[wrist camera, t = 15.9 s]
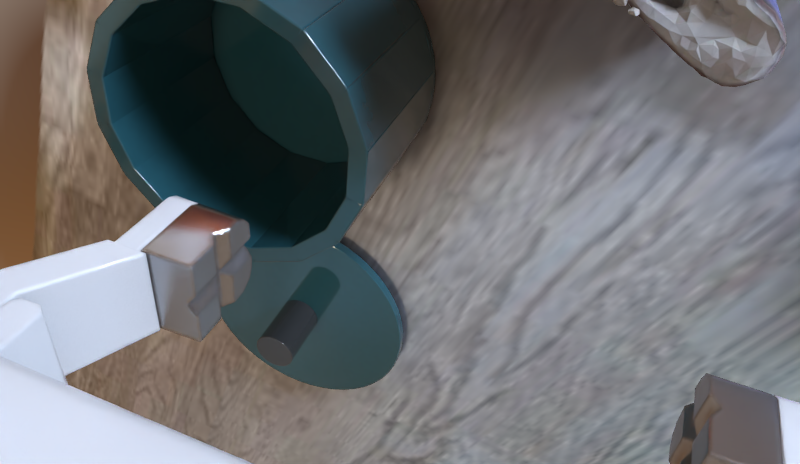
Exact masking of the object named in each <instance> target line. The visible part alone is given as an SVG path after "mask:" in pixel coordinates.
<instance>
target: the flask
mask: <svg viewBox="0 0 800 464" xmlns="http://www.w3.org/2000/svg"><path fill="white" fill-rule="evenodd" d="M613 2H614V3H615V4H616V5H619V6H626V4H627V3H628V4H629V5H630V6H631V8H630V9H629V10H628V13H629V14H631V15H633V16H639V17H640V18H641V19H643V20H644V21H645V22H646V23H647V24H648V25H649V26H650V28H651V29H652V30H653V31H654V32H655V33H656V34H657V35H658V36H659V37H660V38H661V39H662V40H663V41H664V42H665V43H666V44H667V45H668V46H669V47H670V48H671V49H672V50H673V51H674V52H675V53H676V54H677V55H678V56H679V57H681V58H682V59H683V60H684V61H685V62H686V63H687V64H688V65H690V66H691V67H693V68H694V69H695V70H696V71H697V72H698V73H699V74H700V75H701V76H703V77H706V78H708V79H710V80H712V81H713V82H715V83H717V84H719V85H721V86H729V87H737V86H741V85H746V84H749V83H752V82H754V81H757V80H760V79H762V78H764V77H765V76H767V75H768V74H769V73H770V72H771V71H772V70H773V68H774V67H775V66H776V65H777V63H778V62H779V60H780V59H781V58H782V56H783V54H784V50H785V47H786V45H787V40H786V32H785V29H784V25H783V21H782V18H781V16H780V12H779V8H778V5H777V2H776V0H613Z"/></svg>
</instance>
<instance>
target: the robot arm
mask: <svg viewBox="0 0 800 464" xmlns="http://www.w3.org/2000/svg"><path fill="white" fill-rule="evenodd" d="M249 239H250V228H249V223H248V222H247V221H245V220H244V219H242V218H239V217H236V216H233V215H230V214H228V213H225V212H222V211H219V210H217V209H214V208H211V207H208V206H206V205H203V204H200V203H195V202H193V201H190V200H187V199H185V198H182V197H179V196H177V195H176V196H172V197H168V198H167V199H165V200H164V201H163V202H162V203H161V204H159V205H158V206H157V207H156V208H155V209H153V210H152V211H151V212H150V213H149V214H147V215H146V216H145V217H144V218H143V219H141V220H140V221H139V222H138V223H137V224H135V225H134V226H133V227H132V228H131V229H129V230H128V231H127V232H126V233H125V234H123V235H122V236H121V237H120V238H119V239H117V240H116V241H115V242H113V241H110V240H105V241H101V242H97V243H94V244H90V245H87V246H83V247H79V248H76V249H72V250H69V251H65V252H61V253H58V254H54V255H51V256H47V257H43V258H40V259H36V260H33V261H29V262H25V263H22V264H18V265H15V266H11V267H7V268H4V269H0V464H253V463H251V462H248V461H246V460H244V459H241V458H239V457H236V456H234V455H232V454H229V453H227V452H225V451H222V450H220V449H218V448H215V447H213V446H211V445H208V444H206V443H204V442H201V441H199V440H197V439H194V438H192V437H189V436H187V435H185V434H182V433H180V432H178V431H175V430H173V429H171V428H168V427H166V426H164V425H161V424H159V423H157V422H154V421H152V420H150V419H147V418H145V417H142V416H140V415H138V414H135V413H133V412H131V411H128V410H126V409H124V408H121V407H119V406H117V405H114V404H112V403H110V402H107V401H105V400H103V399H100V398H98V397H95V396H93V395H91V394H88V393H86V392H84V391H81V390H79V389H77V388H74V387H72V386H70V385H68V383H67V381H66V378H65V376H66V375H68V374H70V373H72V372H74V371H76V370H79V369H81V368H83V367H85V366H87V365H89V364H91V363H93V362H95V361H97V360H99V359H101V358H103V357H106V356H108V355H110V354H112V353H114V352H116V351H118V350H120V349H122V348H124V347H126V346H128V345H130V344H133V343H135V342H137V341H139V340H141V339H143V338H145V337H147V336H149V335H151V334H153V333H155V332H158V331H160V328H162V329H165V330H168V331H171V332H174V333H176V334H179V335H182V336H185V337H188V338H191V339H193V340H196V341H199V342H201V341H202V340H203V339H204V338H205V336H206V335H207V334H208V333H209V332H210V331H211V329H212V328H213V327H214V326H215V325H216V324H217V323H218V321H219V320H220V319H221V307H223V306H226V305H229V304H231V303H234V302H235V301H236V300H237V299H238V298H239V297H240V295H241V294H242V293H243V292H244V289H245V287H246V285H247V283H248V281H249V279H250V274H251V269H252V256H251V254H250V253H249V251H248V250H247V248H246V247H245V245H244V244H245V243H246V242H247V241H248V240H249ZM669 462H670V464H800V403H798V402H795V401H792V400H789V399H786V398H783V397H780V396H776V395H772V394H769V393H766V392H763V391H760V390H757V389H754V388H751V387H748V386H745V385H742V384H738V383H735V382H732V381H729V380H726V379H723V378H720V377H717V376H714V375H711V374H708V373H706V374H705V375H704V376H703V377H702V378H701V380H700V381H699V383H698V385H697V386H696V388H695V400H694V403H692V404H689V405H686V406H685V407H684V409H683V411H682V412H681V414H680V416H679V418H678V420H677V423H676V426H675V429H674V432H673V435H672V439H671V445H670V452H669Z"/></svg>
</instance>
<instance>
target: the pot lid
mask: <svg viewBox="0 0 800 464" xmlns="http://www.w3.org/2000/svg"><path fill="white" fill-rule="evenodd" d="M221 317H222V318H223V320H224V322H225V323H226V324H227V326H228V327H229V329H230V330H231V331H232V333H233V334H234V335H235V336H236V337H237V338H238V340H239V341H240V342H241V343H242V344H243V345H244V346H245V347H246V348H247V349H249V350H250V351H251V352H252V353H253V354H254V355H256V356H257V357H258V358H259V359H261V360H262V361H264V362H265V363H266V364H268V365H269V366H271V367H273V368H274V369H276V370H277V371H279V372H281V373H283V374H285V375H287V376H289V377H291V378H294V379H296V380H298V381H301V382H304V383H307V384H310V385H313V386H318V387H322V388H328V389H340V390H347V389H356V388H361V387H365V386H368V385H371V384H373V383H375V382H377V381H378V380H380V379H382V378H383V377H384V376H385V375H386V374H388V373H389V371H390V370H391V369H392V367H393V366H394V364H395V362H396V360H397V358H398V356H399V354H400V352H401V348H402V344H403V326H402V320H401V316H400V313H399V310H398V307H397V305H396V302H395V300H394V298H393V296H392V295H391V293H390V291H389V289H388V288H387V286H386V285H385V284H384V282H383V281H382V279H381V278H380V277H379V276H378V274H377V273H376V272H375V271H374V270H373V269H372V268H371V267H370V266H369V265H368V264H367V263H366V262H365V261H364V260H363V259H362V258H361V257H360V256H358V255H357V254H356V253H354V252H353V251H352V250H351V249H349V248H348V247H347V246H345V245H343V244H342V243H340V242H339V243H338V244H336V245H334V246H332V247H330V248H328V249H326V250H324V251H321V252H319V253H317V254H315V255H313V256H311V257H309V258H307V259H305V260H303V261H299V262H252V269H251V274H250V279H249V281H248V283H247V285H246V287H245V289H244V292H243V293H242V294H241V295H240V297H239V298H238V299H237V300H236V301H235V302H234V303H231V304H229V305H226V306H223V307H221Z"/></svg>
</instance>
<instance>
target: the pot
mask: <svg viewBox="0 0 800 464" xmlns="http://www.w3.org/2000/svg"><path fill="white" fill-rule="evenodd" d="M87 74H88V79H89V84H90V89H91V94H92V99H93V104H94V109H95V114H96V119H97V122H98V125H99V127H100V129H101V131H102V133H103V135H104V137H105V138H106V140H107V142H108V144H109V146H110V148H111V150H112V152H113V153H114V155H115V157H116V159H117V161H118V163H119V165H120V167H121V169H122V170H123V172H124V174H125V175H126V176H127V177H128V178H129V179H130V181H131V182H132V183H133V184H134V185H135V186H136V187H137V188H138V189H139V190H140V192H141V193H142V194H143V195H144V196H145V197H146V198H147V199H148V200H149V202H150V203H151V204H152V205H153V206H154V207H155V208H156V207H157V206H158V205H159V204H161V203H162V202H163V201H164V200H165V199H167V198H168V197H172V196H176V195H177V196H179V197H182V198H185V199H187V200H190V201H193V202H195V203H200V204H203V205H206V206H208V207H211V208H214V209H217V210H219V211H222V212H225V213H228V214H230V215H233V216H236V217H239V218H242V219H244V220H245V221H247V222H248V223H249V228H250V239H249V240H248V241H247V242H246V243H245V244H244V245H245V247H246V248H247V250H248V251H249V253H250V254H251V256H252V262H299V261H303V260H305V259H307V258H309V257H311V256H313V255H315V254H317V253H319V252H321V251H324V250H326V249H328V248H330V247H332V246H334V245H336V244H338V243H339V242H340V241H341V240H342V238H343V237H344V236H345V234H346V233H347V231H348V230H349V229H350V227H351V226H352V225H353V223H354V222H355V220H356V219H357V218H358V216H359V215H360V214H361V212H362V211H363V209H364V208H365V207H366V205H367V204H368V203H369V201H370V200H371V198H372V197H373V196H374V194H375V193H376V192H377V190H378V189H379V187H380V186H381V185H382V183H383V182H384V181H385V179H386V178H387V177H388V175H389V174H390V172H391V171H392V170H393V168H394V167H395V166H396V164H397V163H398V161H399V160H400V159H401V157H402V156H403V155H404V153H405V152H406V150H407V149H408V147H409V146H410V144H411V143H412V141H413V140H414V138H415V137H416V135H417V134H418V133H419V131H420V129H421V128H422V126H423V125H424V123H425V122H426V120H427V118H428V112H429V110H430V107H431V103H432V99H433V94H434V87H435V58H434V53H433V47H432V42H431V38H430V35H429V32H428V28H427V25H426V22H425V20H424V18H423V16H422V13H421V11H420V9H419V7H418V5H417V3H416V1H415V0H113V1H112V3H111V4H110V5H109V6H108V7H107V8H106V9H105V10H104V12H103V13H102V14H101V15H100V16H99V17H98V18H97V21H96V22H95V27H94V33H93V38H92V43H91V48H90V54H89V59H88V64H87Z"/></svg>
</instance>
